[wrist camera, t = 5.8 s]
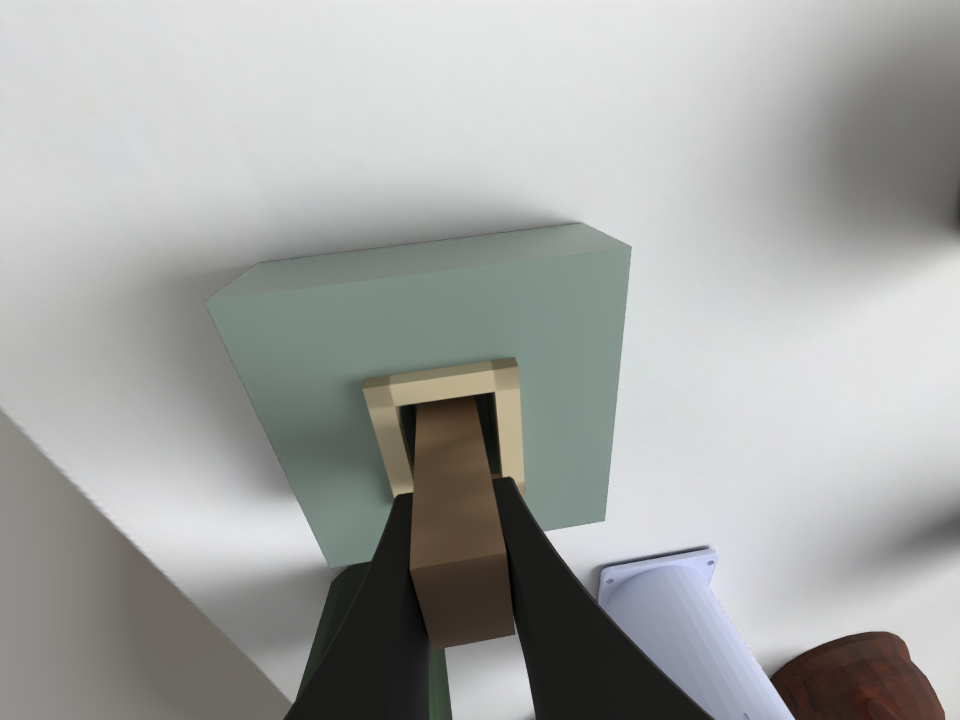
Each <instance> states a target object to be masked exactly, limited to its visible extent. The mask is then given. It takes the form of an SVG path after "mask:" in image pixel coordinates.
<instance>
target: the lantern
mask: <svg viewBox="0 0 960 720" xmlns="http://www.w3.org/2000/svg"><path fill="white" fill-rule="evenodd" d="M770 682H771V683H772V685H773V686H774V688H775V689H776V691H777V692H778V694H779V695H780V697H781V699H782V700H783V702H784V703H785V705H786V706H787V708H788V709H789V711H790V713H791V714H792V716H793V717H794V719H795V720H945V712H944V710H943V708H942V706H941V704H940V702H939V699H938V697H937V695H936V693H935V691H934V689H933V688H932V686H931V684H930V682H929V680H928V679H927V677H926V676H925V675H924V674H923V673H922V672H921V671H920V669H919V668H918V667H917V666H916V665H915V664H914V663H913V662H912V661H911V659H910V655H909V651H908V648H907V646H906V644H905V642H904V641H903V640H902V639H901V638H900V637H899V636H897V635H894V634H892V633H889V632H867V633H862V634H856V635H851V636H847V637H844V638H841V639H838V640H835V641H832V642H829V643H826V644H824V645H821V646H819V647H817V648H815V649H813V650H810V651H808V652H806V653H804V654H802V655H801V656H799V657H797V658H796V659H794V660H792V661H791V662H789V663H788V664H786V665H785V666H784V667H783V668H781V669H780V670H779V671H778V672H777V673H776V674H774V675H773V677H772V678H771V680H770Z"/></svg>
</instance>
